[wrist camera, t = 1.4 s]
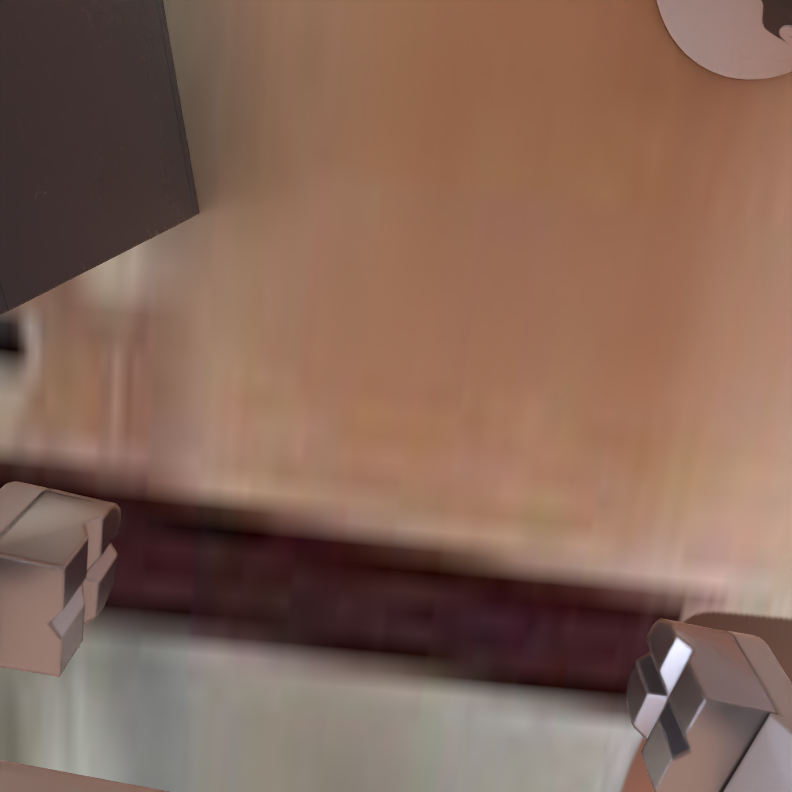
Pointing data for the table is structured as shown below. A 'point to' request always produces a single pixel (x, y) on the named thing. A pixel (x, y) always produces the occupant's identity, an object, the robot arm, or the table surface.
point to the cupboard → (85, 138)
